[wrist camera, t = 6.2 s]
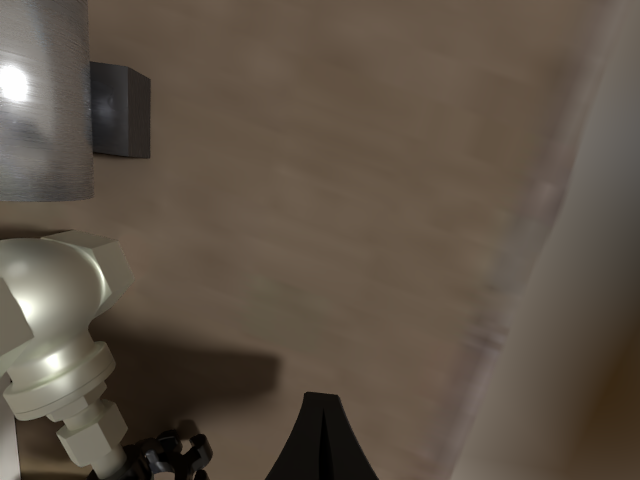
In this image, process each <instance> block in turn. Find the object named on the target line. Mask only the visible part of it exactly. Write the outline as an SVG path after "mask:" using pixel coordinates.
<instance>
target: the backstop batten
mask: <svg viewBox="0 0 640 480" xmlns="http://www.w3.org/2000/svg"><path fill="white" fill-rule="evenodd" d="M10 384H11V383H10V376H9V374H8V373H7V371H6V372H5V373H4V374H3V376H2V377H1V378H0V480H21V476H20V467H19V457H18V448H17V439H16V429H15V420H14V413H13V412H12V410H11V408H10V407H9V405H8V403H7V402H6V400H5V398H4V397H3V393H4V391H5V389H6V388H7V387H8V386H9V385H10Z"/></svg>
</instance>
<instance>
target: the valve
mask: <svg viewBox="0 0 640 480" xmlns="http://www.w3.org/2000/svg"><path fill="white" fill-rule="evenodd" d="M134 281H135V278H134V275H133V273H132V271H131V268H130V266H129V264H128V262H127V259H126V257H125V255H124V253H123V250H122V248H121V246H120V244H119V242H118V241H117V240H115V239H111V238H107V237H102V236H98V235H94V234H90V233H85V232H81V231H77V230H71V231H67V232H62V233H58V234H53V235H49V236H44V237H41V239H37V238H14V239H5V240H0V378H1V377H2V376H3V374H4V373H5V372H6V371H7V373H8V374H9V376H10V378H11V380H12V381H13V382H12V383H11V384H10V385H9V386H8V387H7V388H6V389H5V391H4V393H3V397H4V398H5V400H6V402H7V403H8V405H9V407H10V408H11V410H12V412H13V413H14V415H15V417H16V418H17V419H18V420H22V421H27V420H33V419H36V418H40V417H43V416H45V415H46V417H48V418H49V419H50V420H51V421H53V422H57V421H61V420H63V421H64V423H65V425H64V426H62V427H61V428H60V429H59V430H58V431H57V432H56V434H57V436H58V438H59V439H60V441H61V443H62V445H63V446H64V448H65V450H66V452H67V454H68V455H69V457H70V459H71V460H72V461H73V462H74V463H75V464H76V465H77V466H79V467H84V466H86V465H89V464H91V465H92V467H93V470H92V471H91V472H90V474H89V475H88V477H87V478H86V480H154V474H156V473H159V472H172V473H175V480H192V479H193V474H194V473H195V471H197V472H196V475H195V478H194V480H210V479H209V477H208V475H207V473H206V471H205V470H203V468H204V467H205V466H206V465H207V464H208V463H209V462H210V460H211V458H212V455H213V451H212V449H211V447H210V444H209V442H208V440H207V438H206V436H205V435H204V434H198V435H195V436H193V437H192V438H190V439H189V441H190V443H191V445H192V448H191V449H190V450H189V451H188V452H187V453H186V454H184V455H182V454H181V451H182V447H183V446H182V443H181V441H180V439H179V437H178V434H177V432H176V431H175V430H169V431H165V432H163V433H161V434H160V435H159V436H158V437H157V438H156V439H155V438H148V439H144V440H140V441H138V442H137V443H135V444H131V445H127V446H124V447H122V446H121V444H120V441H121V440H122V438H123V437H124V435H125V434H126V432H127V430H128V427H127V425H126V423H125V421H124V419H123V417H122V415H121V413H120V411H119V409H118V407H117V405H116V403H114V402H112V401H109V400H106V399H103V400H100V398H99V397H100V396H101V395H102V394H103V393H104V391H105V390H106V388H107V386H106V384H105V382H104V380H106V379H107V378H108V377H109V375H110V374H111V373H112V372H113V370H114V369H115V366H116V362H115V360H114V358H113V356H112V354H111V352H110V350H109V348H108V346H107V344H106V343H105V342H103V341H96V342H93V340H92V338H91V336H90V334H89V332H88V325H89V324H90V322H91V321H92V320H93V319H94V318H96V317H97V316H99V315H101V314H102V313H104V312H105V311H107V310H109V309H110V308H111V307H112V306H113V305H114V304H115V303H116V302H117V300H118V299H119V298H120V297H121V296H122V295H123V294H124V292H125V291H126V290H127V289H128V288H129V287H130V286H131V285H132V283H133V282H134ZM145 455H146V458H145Z"/></svg>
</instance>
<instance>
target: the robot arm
mask: <svg viewBox="0 0 640 480" xmlns="http://www.w3.org/2000/svg"><path fill="white" fill-rule="evenodd" d="M265 480H379V479H378V477H377V476H376V474H375V472H374V471H373V469H372V467H371V465H370V464H369V462H368V460H367V458H366V456H365V455H364V453H363V451H362V449H361V447H360V445H359V443H358V441H357V439H356V437H355V435H354V433H353V431H352V428H351V426H350V424H349V421H348V419H347V417H346V414H345V412H344V409H343V406H342V403H341V400H340V397H339V396H338V395H334V394H325V393H316V392H306V393H305V394H304V399H303V403H302V407H301V410H300V413H299V415H298V418H297V420H296V423H295V425H294V427H293V430H292V432H291V434H290V436H289V438H288V440H287V442H286V444H285V446H284V448H283V450H282V452H281V454H280V455H279V457H278V459H277V461H276V462H275V464H274V466H273V467H272V469H271V471H270V472H269V474H268V475H267V477H266V479H265Z"/></svg>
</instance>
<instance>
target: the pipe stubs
mask: <svg viewBox="0 0 640 480" xmlns="http://www.w3.org/2000/svg"><path fill="white" fill-rule="evenodd" d="M93 152H99V153H107V154H114V155H122V156H130V157H140V158H150V79H149V78H147V77H145V76H144V75H142V74H140V73H138V72H136V71H135V70H133V69H131V68H129V67H126V66H119V65H112V64H105V63H98V62H91V61H90V57H89V27H88V1H87V0H0V201H30V202H51V201H75V200H84V199H90V198H93V197H94V177H93Z"/></svg>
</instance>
